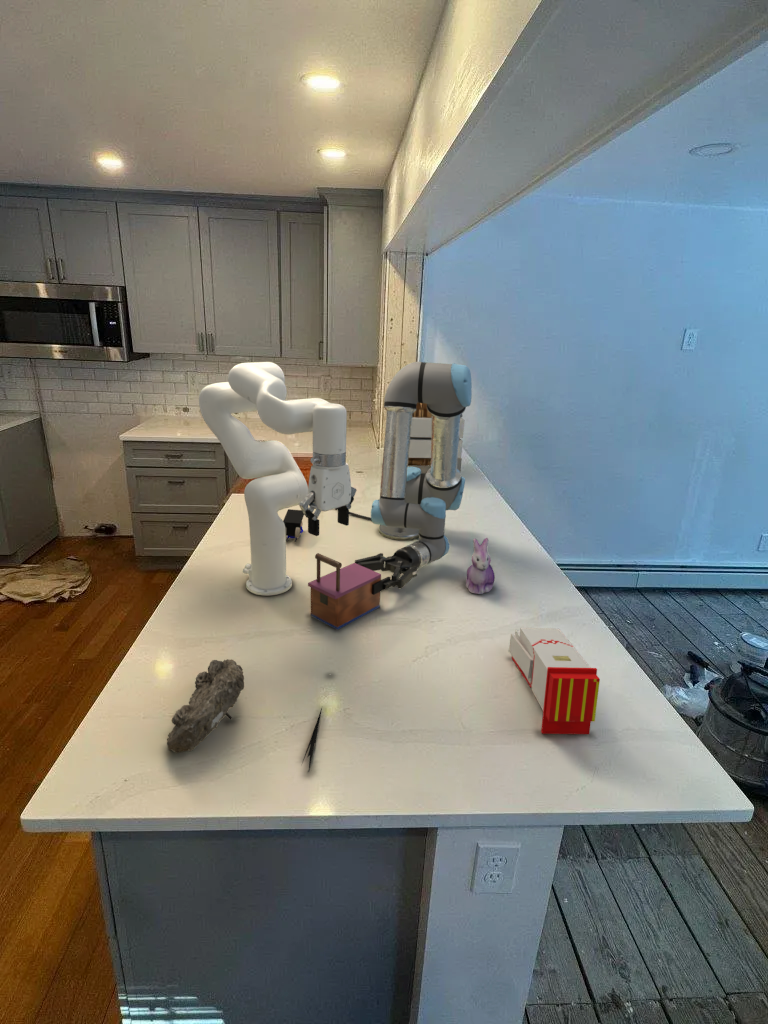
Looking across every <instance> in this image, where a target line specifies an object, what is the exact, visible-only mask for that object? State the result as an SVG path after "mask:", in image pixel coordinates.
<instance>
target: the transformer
mask: <svg viewBox="0 0 768 1024" xmlns="http://www.w3.org/2000/svg"><path fill="white" fill-rule="evenodd" d="M385 414H386V415H385V417H386V416H387V411H386V413H385ZM431 427H432V414H431V413H430V412H429V411H428V410H427V404H426V403H417V407H416V411H415V412H414V413H413V414H412V424H411V435H410V446H409V457H408V467H417V466H418V467H431ZM464 429H465V419H464V418H463V413H462V414H461V415H460V426H459V442H458V459H457V469H458V470H459V471H460V473H461V472H462V461H463V460H462V453H463V442H464V441H463V440H462V439H463V438H464V431H465V430H464ZM461 474H462V473H461Z"/></svg>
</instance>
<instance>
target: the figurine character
mask: <svg viewBox="0 0 768 1024" xmlns="http://www.w3.org/2000/svg"><path fill="white" fill-rule="evenodd" d="M304 517H305V515H304V514H303V513H302V510H301V509H290V508H289V509H288V508H287V511H286V513H285V516H284V518H283V519H282V520H283V522H284V524H285V532H286V543H288V542H289V539H294V541H293V542H294V543H296V542H297V541H298V538H299V539H300V538H301V534H302V533H303V532H304V528H303V525H304V524H303V523H304V522H303V519H304Z"/></svg>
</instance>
